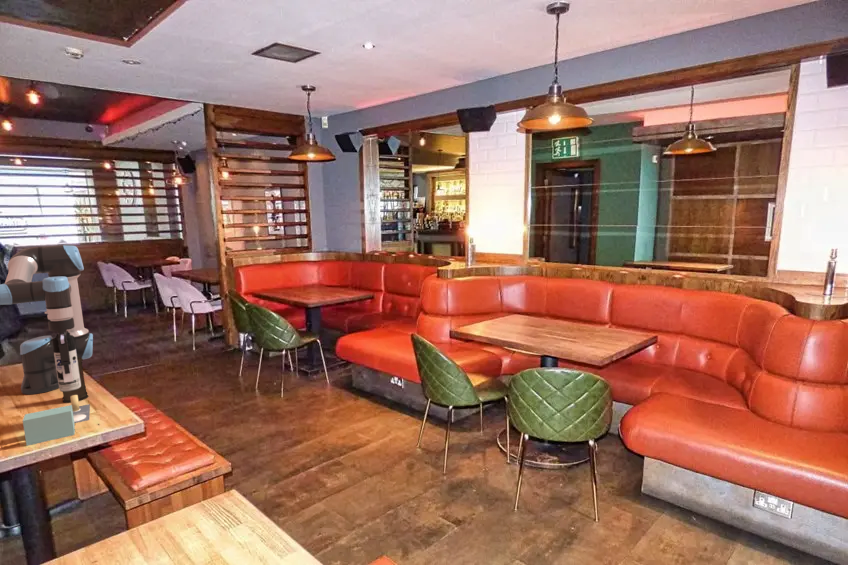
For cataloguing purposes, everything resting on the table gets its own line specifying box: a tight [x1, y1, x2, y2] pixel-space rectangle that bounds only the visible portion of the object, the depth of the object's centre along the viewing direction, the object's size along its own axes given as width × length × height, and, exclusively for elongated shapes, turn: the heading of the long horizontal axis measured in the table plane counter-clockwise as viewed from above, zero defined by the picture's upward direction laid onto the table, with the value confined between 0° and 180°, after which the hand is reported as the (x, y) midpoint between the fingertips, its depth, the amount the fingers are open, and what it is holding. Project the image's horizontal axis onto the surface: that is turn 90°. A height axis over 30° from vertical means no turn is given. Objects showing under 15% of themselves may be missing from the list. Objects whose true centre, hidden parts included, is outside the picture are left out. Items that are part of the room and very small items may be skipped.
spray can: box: [52, 335, 81, 393], centre depth 177 cm, size 7×7×20 cm
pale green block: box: [22, 404, 76, 447], centre depth 167 cm, size 7×13×9 cm, turn 124°
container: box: [62, 357, 89, 404], centre depth 199 cm, size 9×9×18 cm
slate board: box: [70, 395, 91, 424], centre depth 181 cm, size 18×17×7 cm
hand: (69, 378), depth 178 cm, fingers closed on spray can, 7 cm apart
